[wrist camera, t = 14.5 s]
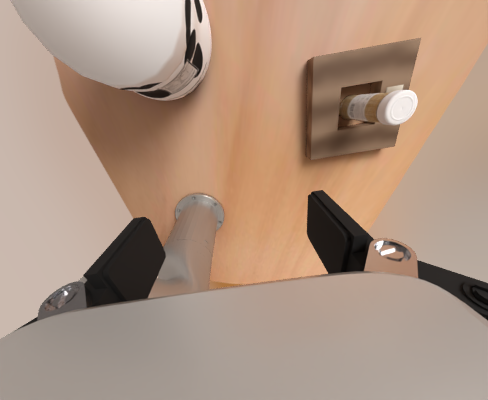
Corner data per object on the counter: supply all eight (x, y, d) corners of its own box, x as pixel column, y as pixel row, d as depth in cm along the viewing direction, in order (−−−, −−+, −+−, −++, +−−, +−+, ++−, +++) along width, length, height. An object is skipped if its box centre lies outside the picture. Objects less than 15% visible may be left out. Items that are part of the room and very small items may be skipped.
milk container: (106, -53, 26) (-97, -300, 10) (223, -4, 29) (211, -135, 13) (112, 84, 34) (3, 67, 18) (204, 112, 36) (182, 119, 21)
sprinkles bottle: (355, 119, 38) (409, 126, 27) (335, 118, 38) (380, 124, 26) (363, 95, 36) (425, 90, 24) (341, 93, 36) (394, 88, 24)
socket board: (384, 143, 41) (395, 146, 38) (306, 156, 42) (311, 160, 39) (406, 43, 33) (422, 37, 30) (307, 60, 33) (314, 56, 30)
